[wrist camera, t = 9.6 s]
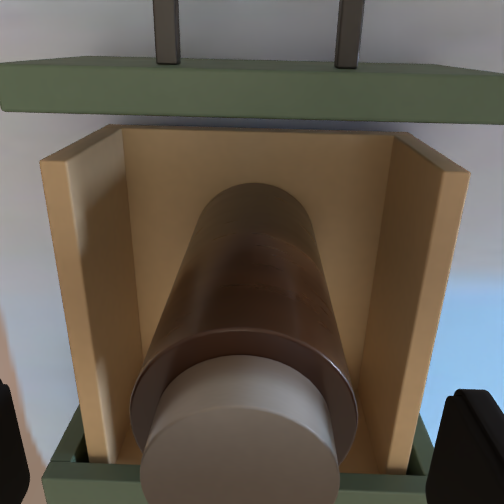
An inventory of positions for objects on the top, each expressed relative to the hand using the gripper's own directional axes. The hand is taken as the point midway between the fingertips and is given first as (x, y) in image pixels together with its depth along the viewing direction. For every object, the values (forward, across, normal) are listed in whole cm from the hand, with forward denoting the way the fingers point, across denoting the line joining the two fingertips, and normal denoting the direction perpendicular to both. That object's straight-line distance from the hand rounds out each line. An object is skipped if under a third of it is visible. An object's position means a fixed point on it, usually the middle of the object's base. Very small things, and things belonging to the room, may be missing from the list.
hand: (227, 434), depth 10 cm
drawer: (+12, 0, -2) cm, 12 cm away
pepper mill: (+11, 0, 0) cm, 11 cm away
